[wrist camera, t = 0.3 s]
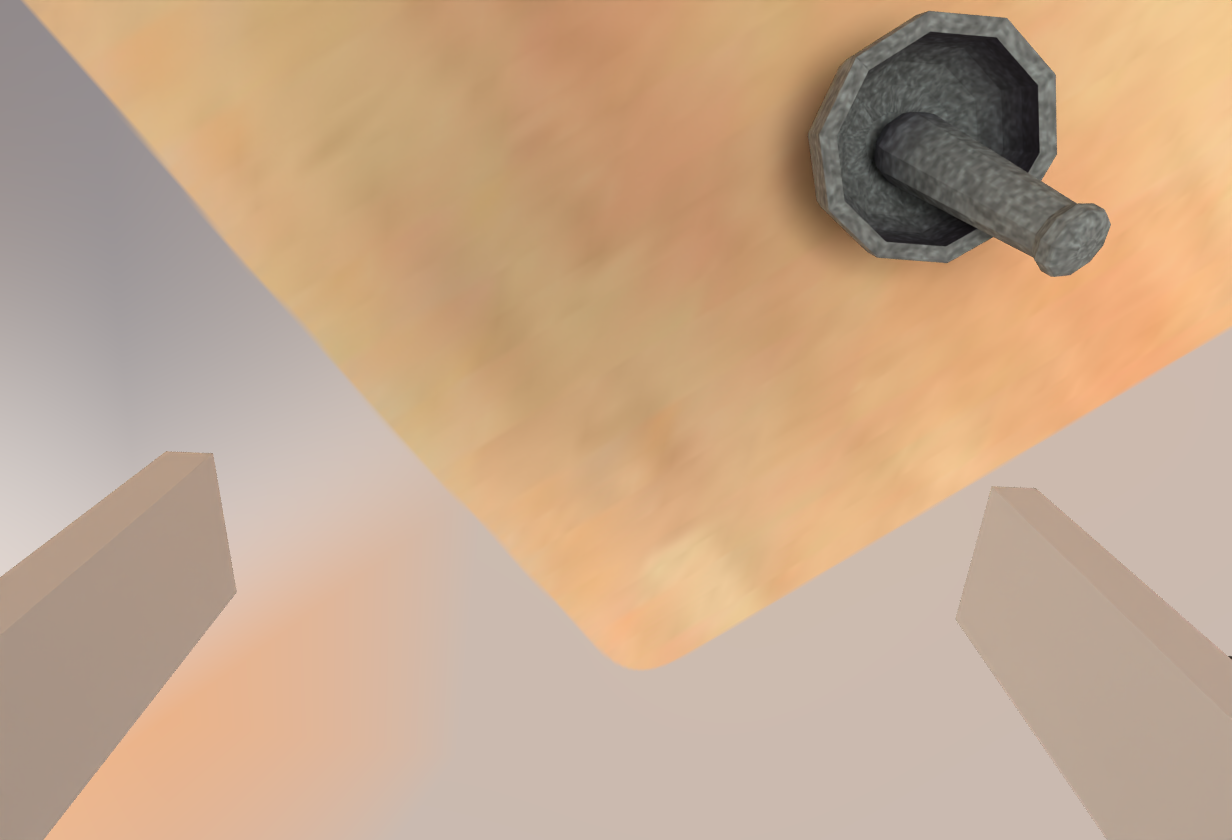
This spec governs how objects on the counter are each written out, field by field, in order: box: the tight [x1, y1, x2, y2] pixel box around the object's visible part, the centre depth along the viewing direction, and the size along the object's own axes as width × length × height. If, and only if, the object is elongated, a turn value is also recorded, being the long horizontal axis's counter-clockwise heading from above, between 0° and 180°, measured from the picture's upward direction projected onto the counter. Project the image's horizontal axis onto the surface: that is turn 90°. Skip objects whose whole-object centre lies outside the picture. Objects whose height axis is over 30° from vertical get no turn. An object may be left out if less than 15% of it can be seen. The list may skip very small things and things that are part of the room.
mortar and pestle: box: [808, 11, 1111, 277], centre depth 31 cm, size 11×9×12 cm
